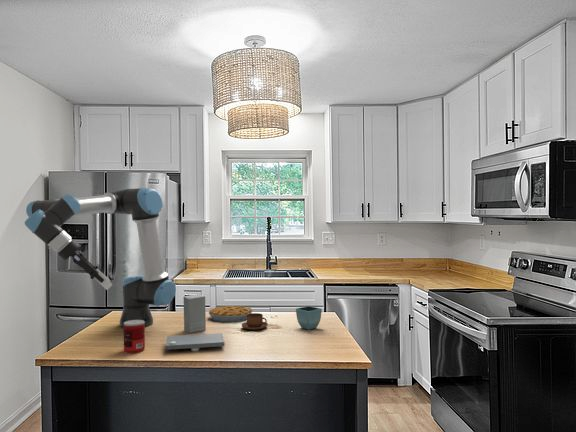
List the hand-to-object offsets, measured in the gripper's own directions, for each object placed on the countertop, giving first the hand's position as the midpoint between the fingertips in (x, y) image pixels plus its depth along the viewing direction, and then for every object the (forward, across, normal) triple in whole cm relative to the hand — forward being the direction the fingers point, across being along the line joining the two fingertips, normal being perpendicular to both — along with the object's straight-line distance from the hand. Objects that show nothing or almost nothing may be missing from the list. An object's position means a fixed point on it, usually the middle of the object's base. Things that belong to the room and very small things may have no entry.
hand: (108, 285), depth 178 cm
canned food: (+25, 0, -12) cm, 28 cm away
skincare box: (+44, -21, +9) cm, 50 cm away
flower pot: (+78, -3, +43) cm, 89 cm away
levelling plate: (+40, +5, +4) cm, 41 cm away
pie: (+60, -39, +25) cm, 76 cm away
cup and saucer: (+63, -14, +27) cm, 70 cm away
